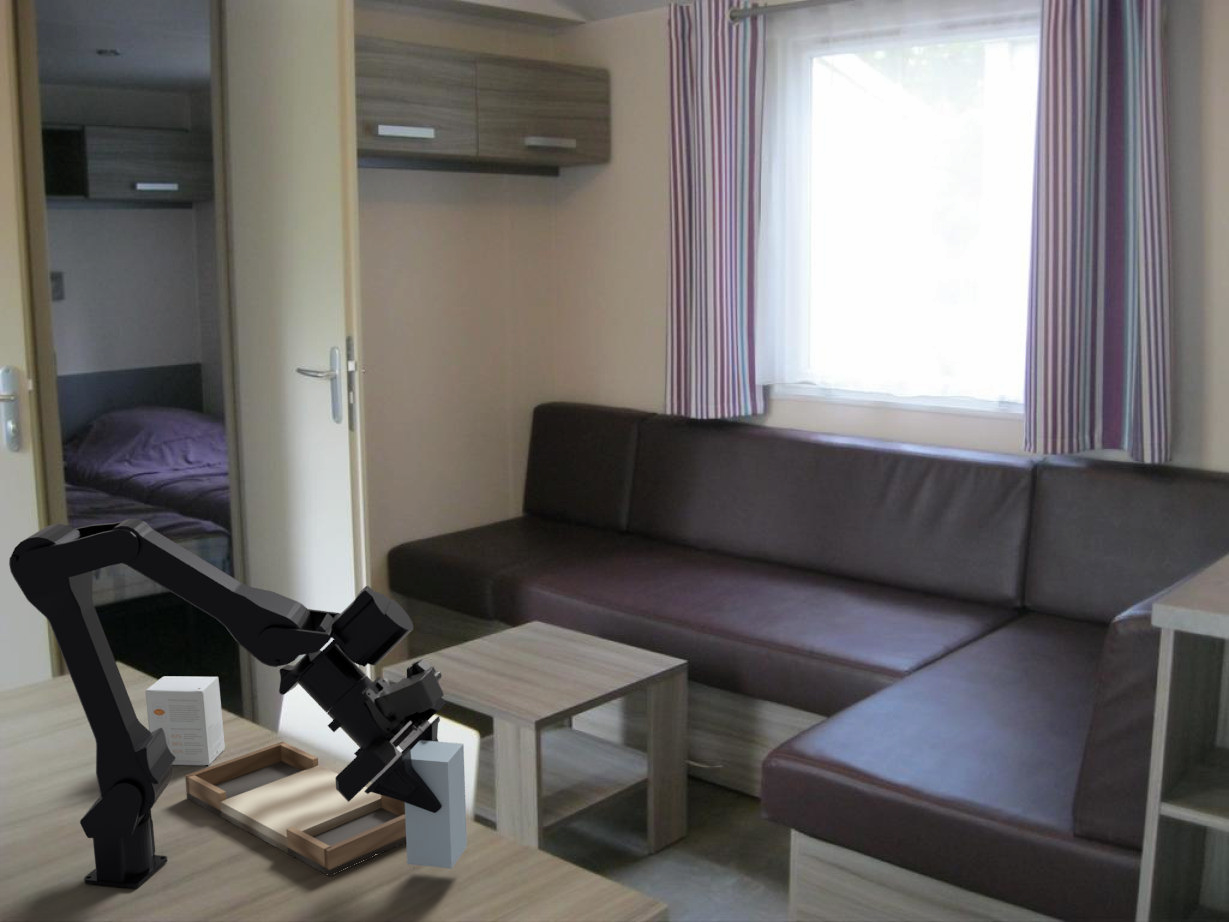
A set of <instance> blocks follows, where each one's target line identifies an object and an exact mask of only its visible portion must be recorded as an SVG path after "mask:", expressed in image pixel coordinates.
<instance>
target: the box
mask: <svg viewBox="0 0 1229 922" xmlns="http://www.w3.org/2000/svg"><path fill="white" fill-rule="evenodd" d="M338 774H339V773H337V772H334V771H332V770H330V769H328V768H326V767H324V766H323V765H322V766H321V765H319V758H318V756H316V755H313V754H311V753H309V752H306V751H304V750H302V749H299V748H297V747H296V746H293V745H290V744H289V743H286V742H284V741H281V742H278V743H275V744H272V745H269V746H266V747H263V748H260V749H258V750H254V751H251V752H248V753H246V754H243V755H240V756H237V757H235V758H232V759H229V760H226V761H223V762H220V763H217V764H214V765H211V766H208V767H206V768H202V769H200V770H198V771H197V770H196V771H194V772H191V773H189V774H186V775H184V777H185V778H184V779H185V790H186V792H185V793H186V799H187V798H188V800H190V801H191V802H193V803H195V804H197V805H198V806H200V807H202V808H204V809H206V810H208V811H209V812H211V813H214V814H215V815H217V816H218V817H221V818H222V819H225V820H226V821H228V822H230V823H231V824H233V825H235V826H237V827H239V828H240V829H243V830H244V831H246V832H248V833H250V834H251V835H254V836H255V837H257V838H259V839H261V840H263V841H264V842H266V843H268V844H269V845H271V846H274V847H275V848H277V849H278V850H281V851H282V852H284V853H286V854H287V855H289V854H290V855H289V856H291V855H292V856H291V857H293V858H295V857H296V858H295V859H297V860H299V861H300V862H302V861H303V862H302V863H305V864H306V865H308V866H309V865H311V866H312V867H311V866H310V867H311V868H313V867H314V868H313V869H315V868H316V869H315V870H317V869H318V870H317V871H319V870H320V871H322V872H323V873H322V872H321V873H322V874H324V873H325V874H324V875H326V874H328V875H329V876H330V877H332V876H334V875H333V874H334V873H336V872H339V871H341V870H343V869H345V868H347V867H350V866H352V865H354V864H356V863H359V862H361V861H363V860H366V859H368V858H370V857H372V856H374V855H375V854H379V853H381V854H383V853H382V852H383V851H386V850H388V849H390V850H392V849H394V848H393V847H395V846H397V845H399V846H401V845H403V844H402V843H404V842H406V822H405V802H402V801H399V800H397V799H393V798H390V797H386V796H383V795H379V794H376V793H372V792H370V793H369V794H367V793H365V792H364V791H365V790H366V789H367V788H368V786H365V787H364V788H363V789H362V790H361V791H360V792H359V793H358V794H357V795H355V796H354V797H353V798H352V799H351V800H350V801H349V802H348V801H347V800H346V799H345V798H344V797H343V796H342V795H341V794H340V793H339V792H338V791H337V790H336V778H335V777H336V776H337V775H338ZM400 844H401V845H400ZM404 844H405V843H404ZM397 847H398V846H397ZM391 848H392V849H391ZM395 848H396V847H395ZM388 851H389V850H388ZM386 852H387V851H386ZM379 855H380V854H379ZM372 858H373V857H372ZM370 859H371V858H370ZM368 860H369V859H368ZM366 861H367V860H366ZM361 863H362V862H361ZM359 864H360V863H359ZM352 867H353V866H352ZM350 868H351V867H350ZM320 871H319V872H320ZM341 872H342V871H341ZM339 873H340V872H339ZM328 875H327V876H328ZM331 875H332V876H331ZM329 876H328V877H329Z"/></svg>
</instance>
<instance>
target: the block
mask: <svg viewBox="0 0 1229 922" xmlns="http://www.w3.org/2000/svg"><path fill="white" fill-rule="evenodd" d="M464 747H465V746H464V743H461V742H460V743H459V742H446V741H445V742H444V741H438V742H436V741H423V740H420V741H419V742H418V743H417V744H416V745H415V746H414V747H413V748H412V749H411V750H410V751H411V763H412V767H413V769H414V770H415V771H416V772H417V773H418V775H419V776H420V777H421V778H422V780H423V781H424V782H425V783H426V785H427V786H428V787H429V788H430V790H431V791H432V792H433V793H434V795H435V796H436V797H437V799H438V800H439V802H440V803H441V805H442V807H441V809H440V810H439V811H437V812H436V813H433V812H430V811H427V810H424V809H422V808H419V807H416V806H414V805H411V804H408V803H405V822H406V843H405V844H406V864H407V865H416V866H424V867H432V868H433V867H434V868H443V869H452V868H453V867H454V866H455V864H456V863H457V861H458V860H459V858H461V856H462V855H463V853H464V852H465V850H466V848H467V847H468V844H467V838H468V837H467V812H466V783H465V782H466V780H465V779H466V778H465V775H466V774H465V751H464Z"/></svg>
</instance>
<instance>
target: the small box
mask: <svg viewBox="0 0 1229 922" xmlns="http://www.w3.org/2000/svg"><path fill="white" fill-rule="evenodd" d="M144 693H145V702H146V713H147V714H146V715H147V724H148V725H147V726H148V730H149V731H150V732H153V731H155V730H157V729H159V728H162V729H163V731H164V733H165V738H166V743H167V746H168V748H169V750H170V752H171V753H172V754H173V755H174V756H175V758H176V759H175V760H174V762H173V763H172V766H206V765H208V766H210V765H211V764H212V763H213V762H214V761H215V760H216V758H218V756H219V755H220V754H221V753H222V752H223V751H224V750H225V749H226V746H225V737H224V736H225V735H224V734H225V732H224V726H223V725H224V723H223V712H222V702H221V690H220V681H219V676H186V675H185V676H175V675H174V676H168V675H167V676H165V675H164V676H162V677H161V678H159V679H158V680H156V682H154V683H153V684H151V685H150V686H149V687H148V688H147V689H145V691H144Z"/></svg>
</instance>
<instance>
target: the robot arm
mask: <svg viewBox="0 0 1229 922" xmlns="http://www.w3.org/2000/svg"><path fill="white" fill-rule="evenodd" d="M8 563H9V564H8V565H9V569H10V571H9V572H10V573H11V575H12V577H13V579H14V581H15V582H16V583H17V585H18V587H19V589H20V591H21V592H22V594H23V595H24V597H25V599H26V600H27V601H28V602H29V603H30V605H32V606H33V607H34V608H35V609H36V610H37V611H38V612H39V613H41V615H43V616H44V618H45V619H47V621H48V623H49V625H50V627H51V630H52V632H53V636H54V638H55V640H56V642H57V646H58V648H59V650H60V653H61V655H62V658H63V661H64V663H65V667H66V668H67V671H68V673H69V676H70V678H71V680H72V683H73V686H74V689H75V691H76V693H77V696H78V699H79V701H80V705H81V706H82V709H83V711H84V714H85V716H86V720H87V722H88V724H89V727H90V729H91V731H92V734H93V737H94V740H95V750H96V751H95V774H96V776H95V777H96V780H97V785H98V792H99V796H98V798H97V799H96V801H94V803H93V804H92V805H91V806H90V808H89V809H88V810H87V811H86V813H84V815H83V817H82V818H81V819H80V821H79V824H80V826H81V828H82V830H83V832H84V834H85V836H86V837H87V839H92V842H93V843H92V844H93V855H94V864H95V868H94V869H93V870H91V872H89V873H88V874H86V875H85V876H84V878H83V882H84V883H85V884H92V885H100V886H101V885H102V886H108V887H109V886H110V887H117V888H118V887H120V888H129V889H136V888H138V887H140V886H141V885H142V884H144V882H145V881H147V880H148V879H149V878H150V877H151V876H153V874H155V873H156V872H157V871H158V870H159V869H161V867H163V866H164V865H165V864H166V863H167V862H168V856H167V855H158V854H155V853H156V846H155V845H156V843H155V834H154V833H155V832H154V831H155V830H154V821H153V818H152V808H153V807H154V805H155V804H156V803H157V801H158V799H159V798H160V797H161V795H162V793H163V792H164V791H165V789H166V788H167V786H168V785H169V783H170V781H171V778H172V776H173V765H172V763H173V762H174V760H175V759H176V758H175V756H174V755H173V754H172V753H171V752H170V750H169V748H168V746H167V743H166V738H165V733H164V731H163V729H162V728H159V729H157V730H155V731H153V732H150V731H149V728H147V727H146V726H145V725H143V724H142V723H141V722H140V720H139V719H138V717H137V714H136V711H135V709H134V706H133V703H132V701H131V699H130V696H129V694H128V690H127V689H126V686H125V683H124V680H123V678H122V675H121V673H120V670H119V667H118V665H117V661H116V660H115V656H114V654H113V652H112V649H111V647H110V644H109V641H108V639H107V636H106V634H105V632H104V628H103V626H102V624H101V621H100V618H99V615H98V613H97V610H96V607H95V605H94V601H93V579H94V578H93V575H94V574H93V573H94V572H93V571H97V570H100V569H103V568H106V567H109V566H110V567H111V566H115V565H120V564H123V565H126V566H127V567H129V568H131V569H132V570H134V571H136V572H137V573H139V574H140V575H142V576H144V577H145V578H148V579H149V580H151V581H152V582H154V583H156V584H158V586H161V587H162V588H164V589H165V590H168V591H169V592H171V593H173V594H174V595H175V596H177V597H179V598H181V599H183V600H184V601H185V602H187V603H188V604H190V605H193V606H194V607H195V608H197V609H199V610H200V611H202V612H204V613H205V614H207V615H209V616H210V617H212V618H214V619H216V620H217V621H218V622H219V623H220V624H221V625H222V626H224V627H225V629H226V630H227V631H228V632H229V634H230V635H231V636H232V638H233V639H234V640H235V642H237V644H239V646H241V647H242V648H243V649H244V650H245V651H247V652H248V653H249V654H250V655H251V656H253V658H255V659H256V660H257V661H259V662H260V663H261V664H263V665H266V666H269V667H273V668H277V667H280V669H279V670H278V671H279V675H280V681H279V690H278V693H279V694H280V695H282V696H284V695H286V694H287V693H289V692H290V691H292V690H294V688H296V687H297V686H298V685H299V686H300V687H301V688H302V690H303V691H305V692H306V694H308V696H310V698H312V700H313V701H315V703H316V704H318V705H317V706H319V707H320V708H321V709H322V710H323V711H324V712H325V713H326V714H327V715H328V716H329V717H330V718H331V719H332V720H331V722H329V724H327V727H328V728H329V729H330V730H331V731H332V732H333V733H335V732H336V731H337V730H338V729H339V728H341V730H342V731H343V732H345V734H346V735H347V736H348V737H349V738H350V739H351V740H352V741H353V742H354V743H355V745H357V746H358V749H357V750H356V751H355V752H354V754H353V755H355V757H354V758H353V760H351V762H349V763H348V764H347V765H346V766H345V767H344V768H343V769H342V770H341V771H340V772H339V773H337V774H338V775H337V776H336V777H335V778H336V790H337V791H338V792H339V793H340V794H341V795H342V796H343V797H344V798H345V799H346V800H347V801H348V802H349V801H350V800H351V799H352V798H353V797H354V796H355V795H357V794H358V793H359V792H360V791H361V790H362V789H363V788H364V787H367V789H366V790H365V791H364V792H365V793H367V794H369V793H370V792H372V793H376V794H379V795H383V796H386V797H390V798H393V799H397V800H399V801H402V802H405V803H408V804H411V805H414V806H416V807H419V808H422V809H424V810H427V811H430V812H433V813H436V812H437V811H439V810H440V809H441V807H442V805H441V803H440V802H439V800H438V799H437V797H436V796H435V795H434V793H433V792H432V791H431V790H430V788H429V787H428V786H427V785H426V783H425V782H424V781H423V780H422V778H421V777H420V776H419V775H418V773H417V772H416V771H415V770H414V769H413V767H412V763H411V751H410V750H411V749H412V748H413V747H414V746H415V745H416V744H417V743H418V742H419V741H420V740H423V741H436V742H439V738H438V733H439V732H438V729H439V722H440V721H441V719H440V718H441V717H440V715H439V716H437V717H436V718H435V719H433V721H432V722H430V721H429V720H430V719H431V718H433V716H434V715H436V714H437V713H438V712H439V711H440V710H441V709H442V708H443V707H444V706H445V705H446V704H447V702H446V701H445V700H444V698H443V697H444V695H445V694H444V692H443V689H442V687H441V685H440V679H442V676H443V675H442V673H441V672H440V671H437V669H435V666H432V665H431V664H429V662H428V661H426V660H425V659H423V658H422V659H420V660H417V661H415V662H412V663H411V664H409V666H408V667H407V668H406V677H403V678H401V679H400V680H399V681H397V682H395V683H393V684H390V683H388V681H387V680H386V679H384V677H383V678H382V677H380V676H378V677H377V678H376V679H374V680H372V679H371V678H370V677H369V676H368V675H367V674H366V673H365V672H364V671H363V670H362V669H361V668H360V667H359V666H362V667H366V666H367V665H370V666H377V665H378V664H379V663H380V662H381V661H383V659H384V658H385V657H386V656H387V655H388V654H389V653H391V652H392V650H394V648H395V647H396V646H398V645H399V643H401V641H403V640H404V639H405V637H407V635H408V634H410V633H411V632H412V631H413V630H414V624H413V621H412V620H411V618H410V615H409V614H408V613H407V612H406V611H405V609H403V607H402V606H401V605H400V604H399V603H398V602H397V601H396V600H395V599H393V598H392V599H390V598H389V597H388V596H386V595H384V594H383V593H380V592H376V591H375V590H373V589H372V587H370V586H369V585H366V586H364V588H362V590H360V592H359V593H358V594H357V596H356V597H355V599H353V600H352V602H351V603H350V604H349V605H347V607H345V609H344V610H343V611H342V612H335V611H334V612H333V611H326V610H320V609H311V608H307V607H306V606H305V605H304V604H303V603H301V602H299V601H297V600H294V599H292V598H289V597H287V596H285V595H282V594H279V593H277V592H275V591H271V590H266V589H262V588H258V587H252V586H250V585H248V584H246V583H245V584H244V583H243V582H240V581H239V580H238V579H236V578H234V577H232V576H231V575H229V574H228V573H226V572H224V571H223V570H221V569H219V568H217V567H216V566H214V565H213V564H211V563H209V561H206V560H204V559H203V558H201V557H200V556H198V555H196V554H194V553H193V552H192V551H189V550H188V549H186V548H184V547H183V546H181V545H180V544H178V543H176V542H175V541H173V540H171V539H169V538H168V537H166V536H165V535H164V534H161V533H160V532H158V531H156V530H155V529H153V528H152V527H151V526H150V525H149V524H148V523H147V522H146V521H144V520H142V519H139V518H128V519H124V520H122V521H118V522H111V523H109V522H108V523H107V522H106V523H98V524H97V523H96V524H92V525H85V526H82V527H81V526H80V527H77V528H73V527H72V526H70V525H67V524H62V523H55V524H50V525H48V526H45V527H43V528H42V529H40V530H38V531H36V532H35V533H33V534H32V535H29V537H27V538H25V539H24V540H22V541H19V543H18V544H17V545H16V546H15V547H14V548H13V551H12V552H11V555H10V557H9V561H8ZM331 639H333V640H332V641H330V640H331ZM329 641H330V642H329ZM328 643H329V644H328ZM326 644H328V645H326ZM325 646H326V647H325ZM323 647H324V649H322V648H323ZM321 649H322V650H321ZM300 656H302V657H301V658H300V659H299V660H298V661H297V662H296V663H295V664H294V665H290V664H291V663H292V662H295V661H296V659H297V658H298V657H300ZM281 666H283V667H282V668H281ZM398 747H399V749H401V751H400V750H399V749H398ZM369 783H371V784H370V785H368V784H369ZM367 785H368V786H367Z"/></svg>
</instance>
